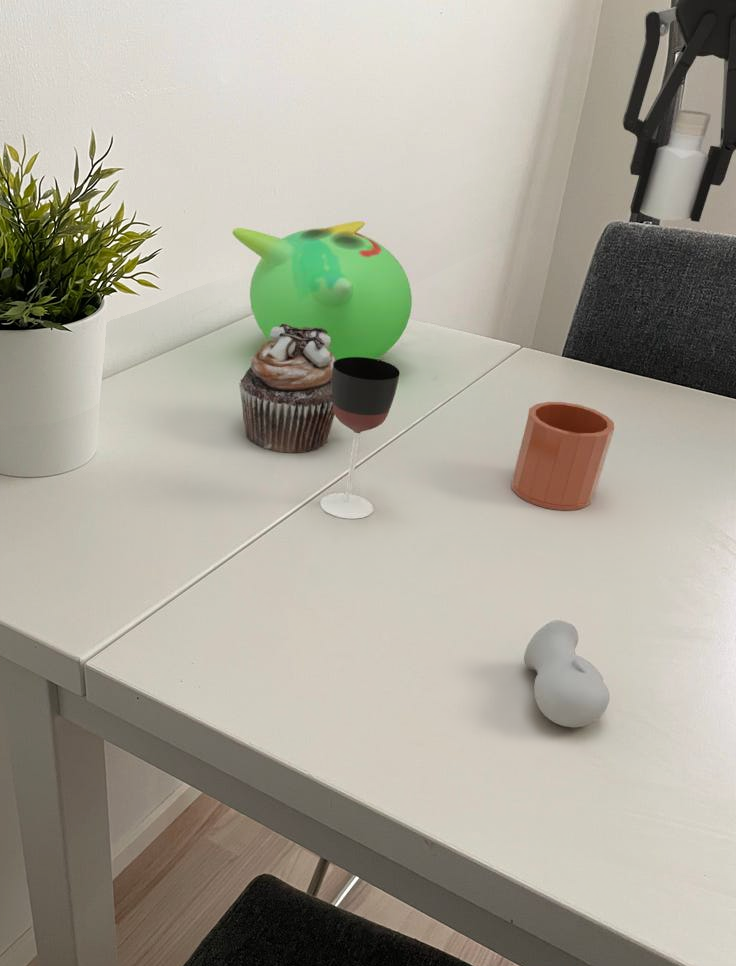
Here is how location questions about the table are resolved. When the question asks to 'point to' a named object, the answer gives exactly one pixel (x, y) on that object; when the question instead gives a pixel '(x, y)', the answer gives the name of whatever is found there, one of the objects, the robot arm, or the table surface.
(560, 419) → the flowerpot
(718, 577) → the table surface
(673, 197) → the pepper shaker
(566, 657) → the smooth white sculpture
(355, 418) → the wineglass
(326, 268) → the toy bird
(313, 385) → the cupcake
